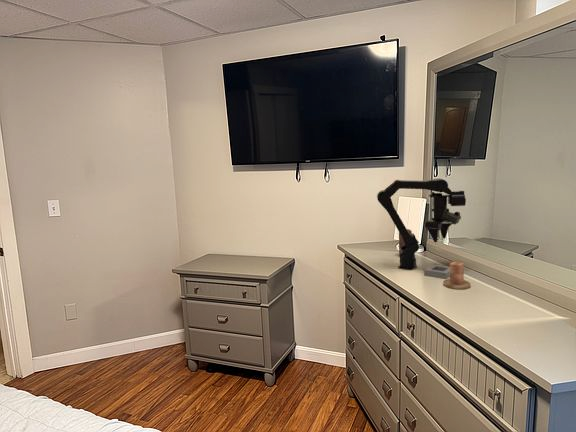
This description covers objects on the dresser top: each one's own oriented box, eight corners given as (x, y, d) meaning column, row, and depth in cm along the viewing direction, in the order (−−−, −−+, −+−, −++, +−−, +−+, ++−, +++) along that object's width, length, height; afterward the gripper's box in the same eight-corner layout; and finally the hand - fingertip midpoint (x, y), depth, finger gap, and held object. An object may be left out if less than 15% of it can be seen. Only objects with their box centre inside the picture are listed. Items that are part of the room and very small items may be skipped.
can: (412, 257, 198) (412, 230, 196) (399, 257, 199) (399, 231, 197) (411, 254, 204) (411, 228, 202) (398, 254, 205) (398, 228, 203)
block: (449, 283, 155) (449, 264, 153) (453, 280, 157) (453, 261, 156) (460, 285, 152) (460, 265, 151) (463, 282, 155) (463, 263, 153)
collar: (424, 275, 169) (424, 269, 169) (433, 269, 176) (433, 264, 176) (446, 279, 163) (446, 273, 162) (454, 273, 170) (454, 267, 169)
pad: (439, 286, 155) (439, 284, 154) (448, 279, 162) (448, 277, 162) (465, 291, 148) (465, 288, 148) (474, 284, 155) (474, 281, 155)
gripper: (449, 210, 162) (449, 246, 165) (466, 204, 175) (465, 238, 178) (424, 209, 170) (424, 243, 173) (442, 203, 183) (441, 235, 186)
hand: (439, 240), depth 177 cm, fingers open, 9 cm apart
